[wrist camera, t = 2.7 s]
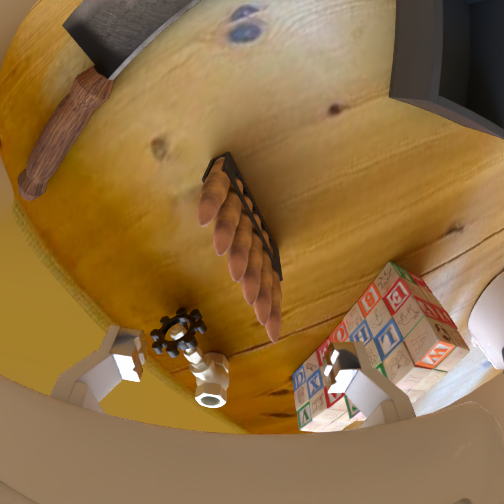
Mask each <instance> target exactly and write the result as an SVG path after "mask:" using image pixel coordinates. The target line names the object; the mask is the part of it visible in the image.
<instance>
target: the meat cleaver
mask: <svg viewBox="0 0 504 504" xmlns="http://www.w3.org/2000/svg"><path fill="white" fill-rule="evenodd" d="M200 1H201V0H83V2H82V3H81V4H80V5H79V6H78V7H77V8H76V9H75V10H74V12H73V13H72V14H71V15H70V16H69V18H68V19H67V20H66V21H65V22H64V24H63V25H62V26H63V27H64V28H65V29H66V30H67V32H68V33H69V34H70V35H71V36H72V38H73V39H74V40H75V41H76V42H77V44H78V45H79V46H80V47H81V48H82V49H83V51H84V52H85V53H86V54H87V55H88V57H89V58H90V59H91V60H92V61H93V63H94V64H95V65H94V66H92V67H91V68H89V69H87V70H86V71H84V72H82V73H80V74H79V75H77V77H76V79H75V81H74V83H73V86H72V88H71V91H70V93H69V94H68V95H67V96H66V97H65V98H64V99H63V100H62V101H61V103H60V104H59V105H58V107H57V108H56V110H55V111H54V113H53V115H52V116H51V118H50V120H49V121H48V123H47V125H46V126H45V128H44V130H43V131H42V133H41V135H40V137H39V139H38V140H37V142H36V144H35V146H34V148H33V150H32V152H31V154H30V156H29V158H28V163H27V167H26V169H25V170H24V171H22V172H21V173H20V174H19V177H18V187H19V193H20V195H21V196H22V197H23V198H24V199H26V200H34V199H36V198H38V197H39V196H41V195H43V194H44V193H45V192H46V188H47V181H48V179H49V178H50V177H51V176H52V175H53V174H54V173H55V172H56V170H57V168H58V167H59V165H60V163H61V162H62V160H63V159H64V157H65V155H66V154H67V152H68V151H69V149H70V148H71V146H72V145H73V143H74V142H75V140H76V139H77V137H78V136H79V134H80V133H81V131H82V130H83V129H84V127H85V126H86V124H87V123H88V121H89V119H90V117H91V115H92V114H93V112H94V110H95V109H96V108H97V107H98V106H100V105H101V104H102V103H103V102H105V101H106V100H107V99H109V96H110V92H111V89H112V86H113V82H114V79H115V78H116V76H117V75H118V74H119V73H120V72H121V71H122V70H123V69H124V68H125V67H126V66H127V65H128V64H129V63H130V62H131V60H132V59H133V58H134V57H135V56H136V55H137V54H138V53H139V52H140V51H142V50H143V49H144V48H145V47H146V46H147V45H148V44H149V43H150V42H151V41H152V40H153V39H154V38H155V37H156V36H158V35H159V34H160V33H161V32H162V31H163V30H164V29H166V28H167V27H168V26H169V25H170V24H171V23H173V22H174V21H175V20H176V19H177V18H179V17H180V16H181V15H182V14H184V13H185V12H186V11H188V10H189V9H190V8H192V7H193V6H194V5H196V4H197V3H198V2H200Z"/></svg>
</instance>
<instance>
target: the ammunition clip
mask: <svg viewBox="0 0 504 504" xmlns="http://www.w3.org/2000/svg"><path fill="white" fill-rule="evenodd" d="M202 181H203V182H204V184H203V186H202V189H201V193H200V196H201V197H200V200H199V203H198V207H197V220H198V223H199V225H200V226H203V227H204V226H207V225H209V224H210V223H211V222H212V221H213V220H214V221H215V225H214V233H213V244H214V249H215V251H216V253H217V254H218V255H219V256H222V255H224V254H225V253H226V252H227V251H228V267H229V272H230V275H231V277H232V279H233V281H234V282H236V283H237V282H239V281H240V280H241V284H242V291H243V295H244V298H245V300H246V302H247V303H248V304H249V305H253V304H254V309H255V313H256V316H257V318H258V320H259V322H260V323H261V325H265V327H266V330H267V333H268V336H269V338H270V339H271V341H272V342H273V343H276V342H277V340H278V338H279V335H280V331H281V301H282V294H281V286H280V281H282V280H283V278H282V271H281V264H280V257H279V251H278V248H277V246H276V244H275V242H274V240H273V238H272V236H271V234H270V232H269V230H268V227H267V225H266V223H265V221H264V219H263V217H262V215H261V213H260V211H259V209H258V207H257V205H256V203H255V201H254V199H253V197H252V195H251V193H250V191H249V189H248V187H247V185H246V183H245V181H244V179H243V177H242V175H241V173H240V171H239V169H238V167H237V165H236V163H235V161H234V159H233V157H232V156H231V154H230V152H227V153H225V154H223V155H221V156H219V157H217V158H215V159H213V160H211V161H210V163H209V165H208V167H207V170H206V172H205V174H204V176H203V178H202Z"/></svg>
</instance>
